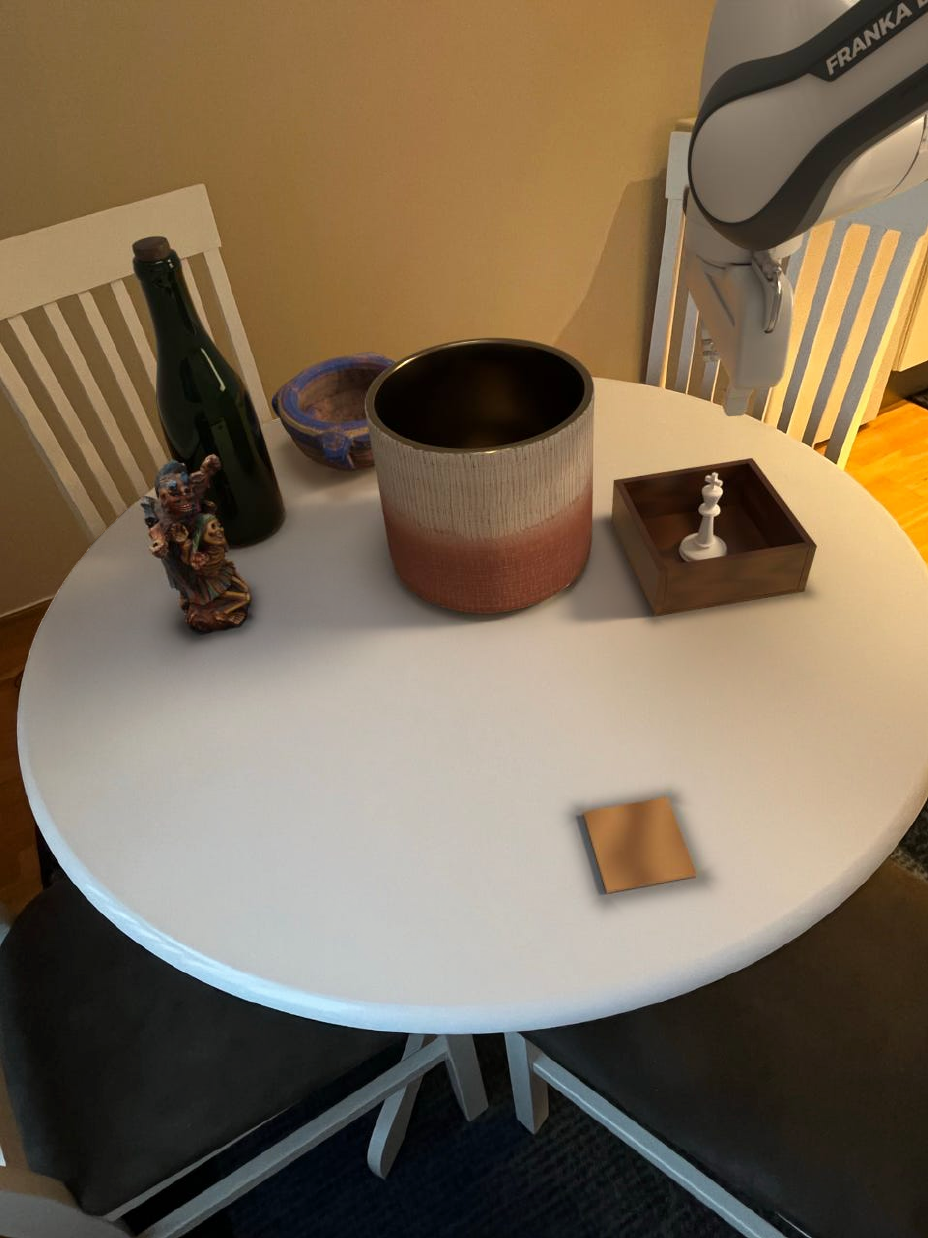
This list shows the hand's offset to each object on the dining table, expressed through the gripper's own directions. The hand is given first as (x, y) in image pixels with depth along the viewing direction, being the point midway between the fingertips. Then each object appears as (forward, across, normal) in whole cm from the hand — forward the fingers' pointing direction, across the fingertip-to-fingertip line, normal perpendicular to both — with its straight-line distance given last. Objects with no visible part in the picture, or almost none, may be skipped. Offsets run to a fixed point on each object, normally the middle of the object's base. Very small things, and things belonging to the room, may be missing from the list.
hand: (720, 383), depth 73 cm
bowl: (+22, +26, +38) cm, 51 cm away
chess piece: (+21, +2, -1) cm, 21 cm away
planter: (+21, +4, +21) cm, 31 cm away
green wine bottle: (+22, +13, +51) cm, 57 cm away
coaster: (+21, -33, +11) cm, 40 cm away
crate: (+21, +2, -1) cm, 21 cm away
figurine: (+22, -3, +50) cm, 54 cm away
